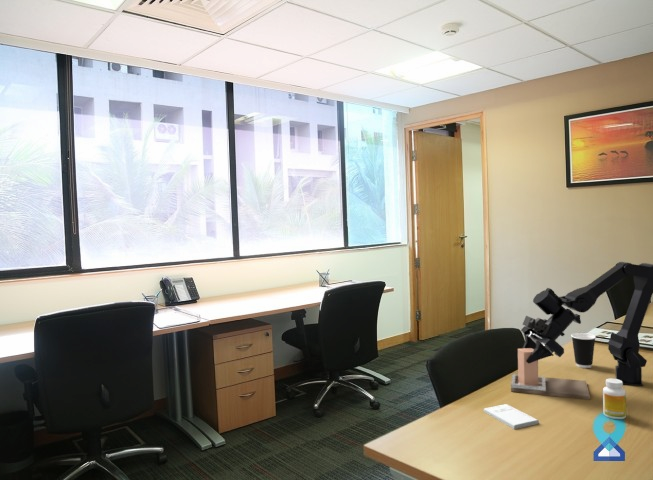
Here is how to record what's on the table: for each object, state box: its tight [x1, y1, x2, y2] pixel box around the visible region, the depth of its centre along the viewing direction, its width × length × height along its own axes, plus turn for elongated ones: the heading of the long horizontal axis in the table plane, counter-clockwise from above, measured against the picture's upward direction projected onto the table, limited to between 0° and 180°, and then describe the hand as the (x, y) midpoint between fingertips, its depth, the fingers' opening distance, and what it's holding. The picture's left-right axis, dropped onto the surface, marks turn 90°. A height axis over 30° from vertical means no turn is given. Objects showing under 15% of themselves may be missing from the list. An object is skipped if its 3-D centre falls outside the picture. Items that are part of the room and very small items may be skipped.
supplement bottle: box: [602, 377, 627, 420], centre depth 132 cm, size 5×5×10 cm
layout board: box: [510, 373, 591, 400], centre depth 155 cm, size 22×14×2 cm, turn 66°
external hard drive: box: [483, 403, 540, 430], centre depth 134 cm, size 2×8×12 cm
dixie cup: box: [570, 332, 597, 369], centre depth 174 cm, size 8×8×11 cm
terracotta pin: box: [517, 347, 539, 386], centre depth 155 cm, size 4×4×11 cm
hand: (523, 359), depth 155 cm, fingers open, 5 cm apart
